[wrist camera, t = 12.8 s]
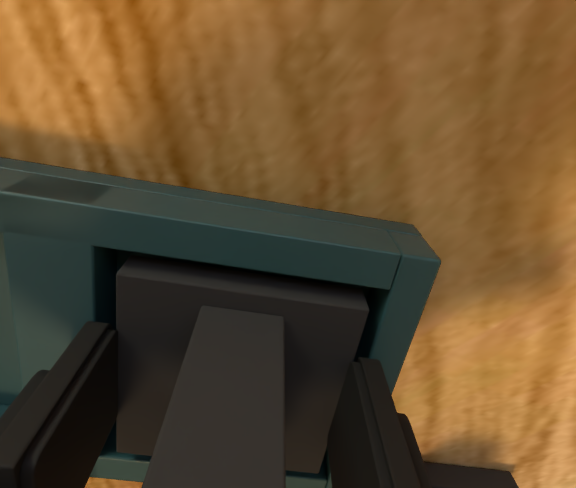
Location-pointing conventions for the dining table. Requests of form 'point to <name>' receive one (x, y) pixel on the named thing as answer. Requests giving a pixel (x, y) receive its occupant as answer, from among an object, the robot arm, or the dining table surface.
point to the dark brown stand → (229, 371)
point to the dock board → (187, 249)
